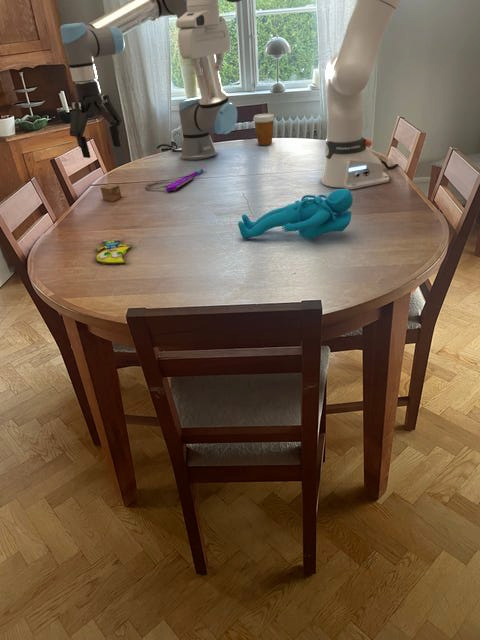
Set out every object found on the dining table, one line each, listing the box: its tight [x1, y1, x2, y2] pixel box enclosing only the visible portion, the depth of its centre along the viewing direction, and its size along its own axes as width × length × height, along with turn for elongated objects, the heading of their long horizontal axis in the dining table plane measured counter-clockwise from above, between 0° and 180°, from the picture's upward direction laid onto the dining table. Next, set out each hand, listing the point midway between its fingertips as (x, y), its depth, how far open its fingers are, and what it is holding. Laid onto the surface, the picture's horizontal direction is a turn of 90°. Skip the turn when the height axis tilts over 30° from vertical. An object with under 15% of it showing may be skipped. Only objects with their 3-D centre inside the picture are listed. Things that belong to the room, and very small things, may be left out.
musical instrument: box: [145, 168, 205, 192], centre depth 179 cm, size 24×2×20 cm
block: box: [100, 183, 123, 202], centre depth 167 cm, size 4×5×4 cm
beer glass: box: [252, 113, 275, 146], centre depth 215 cm, size 10×10×12 cm
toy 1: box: [95, 238, 133, 265], centre depth 129 cm, size 10×1×15 cm
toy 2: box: [237, 188, 354, 240], centre depth 126 cm, size 17×11×30 cm
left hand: (102, 151), depth 160 cm, fingers open, 13 cm apart
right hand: (209, 73), depth 142 cm, fingers open, 8 cm apart
